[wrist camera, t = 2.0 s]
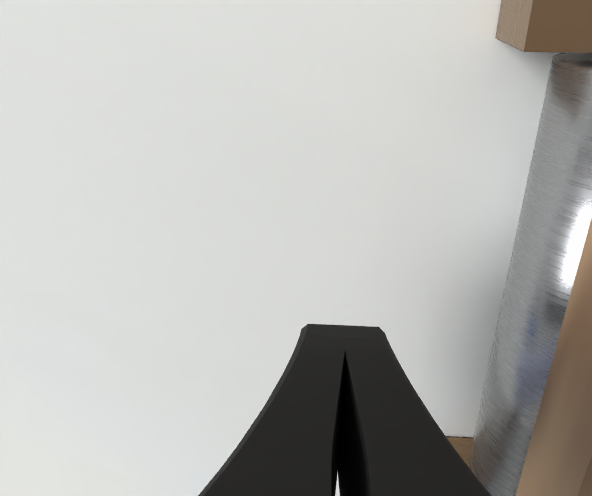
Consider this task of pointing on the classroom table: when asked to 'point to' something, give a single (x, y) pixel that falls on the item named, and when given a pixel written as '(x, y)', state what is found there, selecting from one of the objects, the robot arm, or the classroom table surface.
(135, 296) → the classroom table surface
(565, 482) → the slab
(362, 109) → the classroom table surface
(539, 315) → the roller track
